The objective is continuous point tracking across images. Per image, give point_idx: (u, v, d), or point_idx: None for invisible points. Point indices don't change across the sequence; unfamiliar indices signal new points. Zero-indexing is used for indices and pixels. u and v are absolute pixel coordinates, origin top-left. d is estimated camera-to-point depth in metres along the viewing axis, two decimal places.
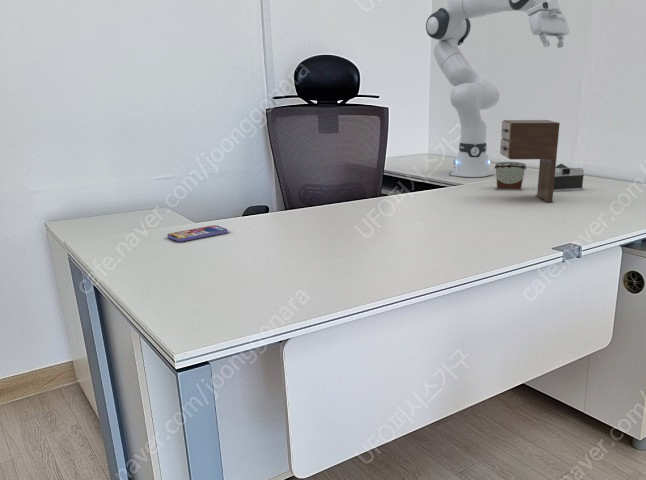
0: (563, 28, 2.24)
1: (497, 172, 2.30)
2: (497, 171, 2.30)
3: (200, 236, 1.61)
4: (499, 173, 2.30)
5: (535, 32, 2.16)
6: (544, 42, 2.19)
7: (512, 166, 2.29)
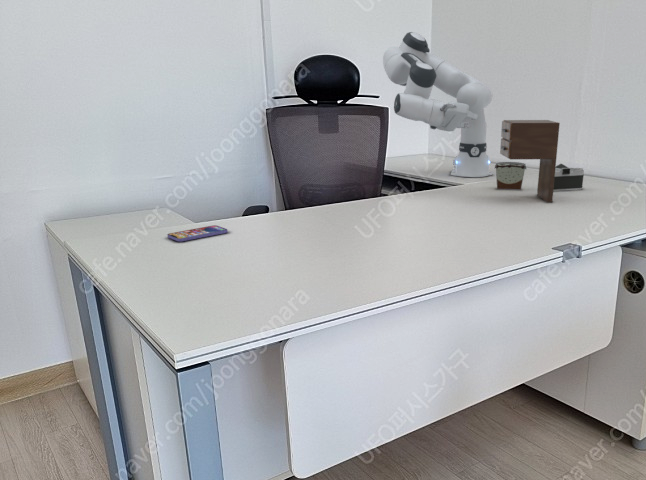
0: (460, 117, 2.14)
1: (497, 172, 2.30)
2: (497, 171, 2.30)
3: (200, 236, 1.61)
4: (499, 173, 2.30)
5: None
6: None
7: (512, 166, 2.29)
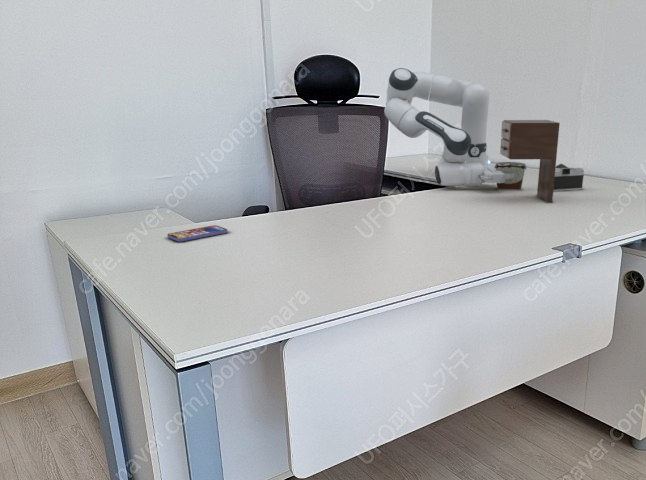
0: None
1: None
2: None
3: (200, 236, 1.61)
4: None
5: None
6: None
7: (512, 166, 2.29)
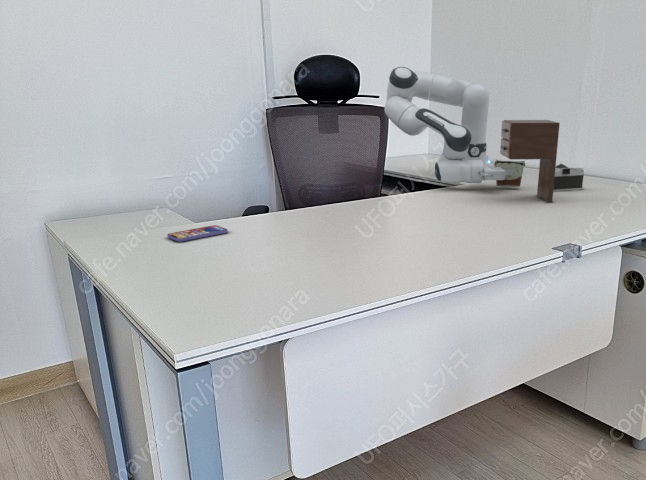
0: None
1: None
2: (497, 166, 2.30)
3: (200, 236, 1.61)
4: None
5: None
6: None
7: (512, 162, 2.30)
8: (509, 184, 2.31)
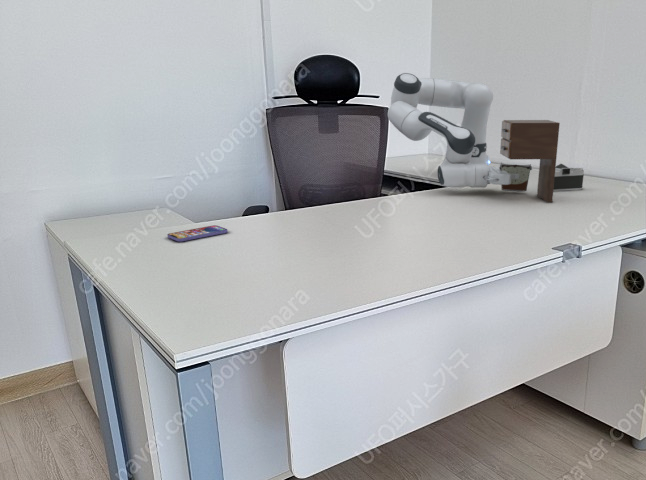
0: None
1: None
2: (502, 170, 2.21)
3: (200, 236, 1.61)
4: None
5: None
6: None
7: (517, 166, 2.21)
8: (515, 189, 2.22)
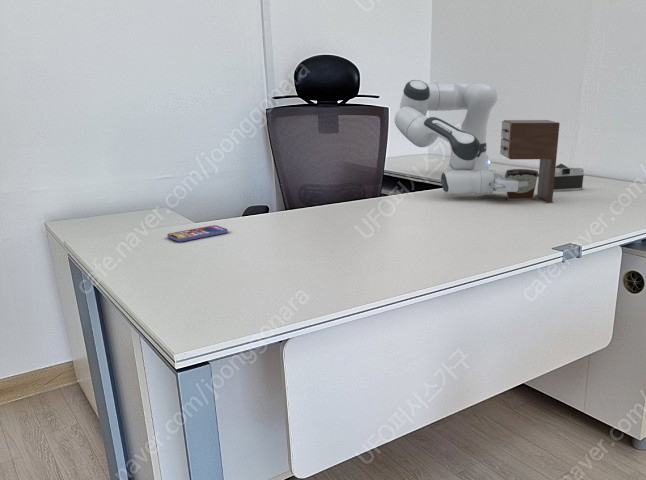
0: None
1: None
2: None
3: (200, 236, 1.61)
4: None
5: None
6: None
7: (524, 174, 2.11)
8: (521, 197, 2.14)
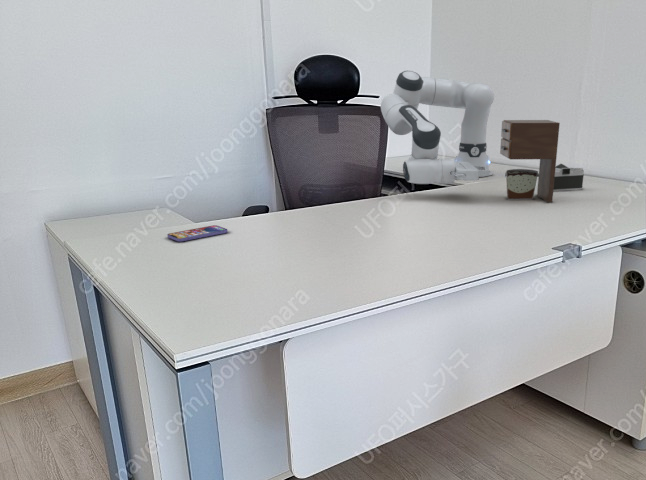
0: None
1: (508, 181, 2.11)
2: (508, 180, 2.11)
3: (200, 236, 1.61)
4: (509, 181, 2.11)
5: None
6: None
7: (524, 174, 2.11)
8: (521, 197, 2.14)
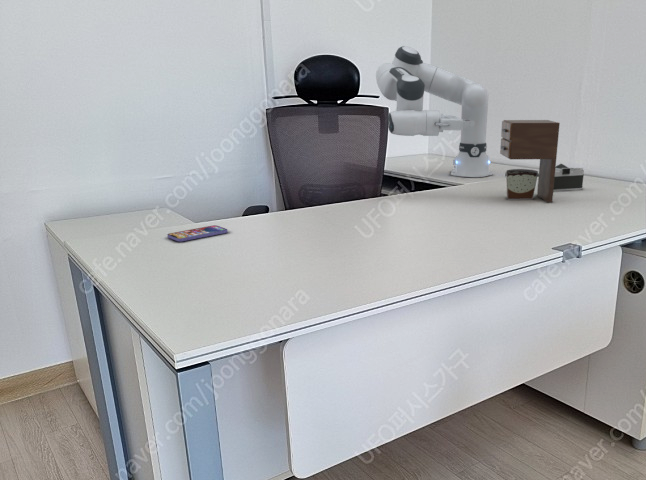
0: None
1: (508, 181, 2.11)
2: (508, 180, 2.11)
3: (200, 236, 1.61)
4: (509, 181, 2.11)
5: None
6: None
7: (524, 174, 2.11)
8: (521, 197, 2.14)
